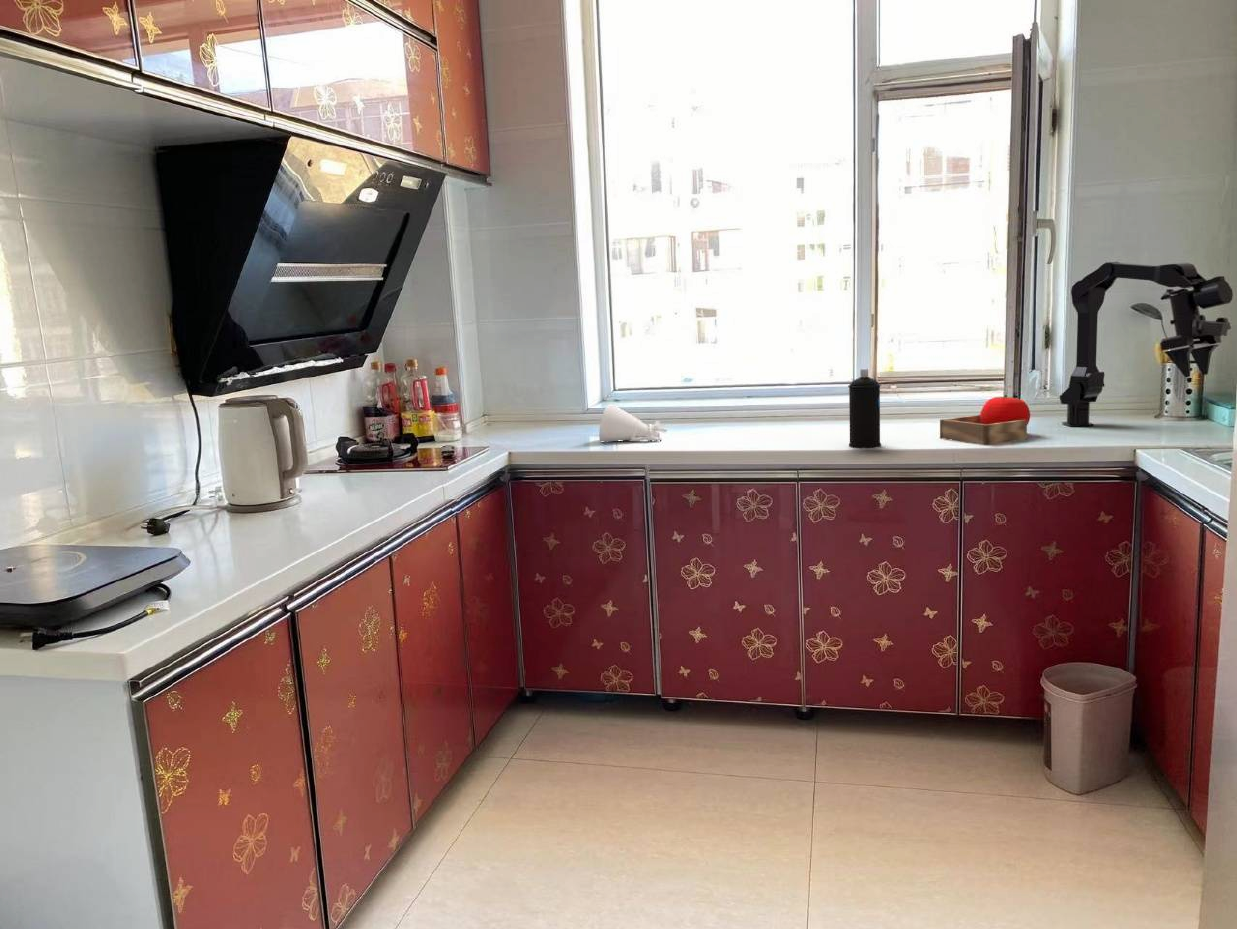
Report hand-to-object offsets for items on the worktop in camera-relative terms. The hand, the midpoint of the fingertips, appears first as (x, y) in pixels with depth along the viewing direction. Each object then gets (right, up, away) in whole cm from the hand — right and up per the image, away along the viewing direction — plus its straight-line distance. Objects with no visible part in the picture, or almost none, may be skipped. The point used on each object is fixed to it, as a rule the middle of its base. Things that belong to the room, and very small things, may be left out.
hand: (1196, 375), depth 238 cm
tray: (-46, -15, +16) cm, 51 cm away
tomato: (-40, -14, +19) cm, 46 cm away
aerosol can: (-78, -17, +15) cm, 81 cm away
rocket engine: (-139, -16, +42) cm, 146 cm away
